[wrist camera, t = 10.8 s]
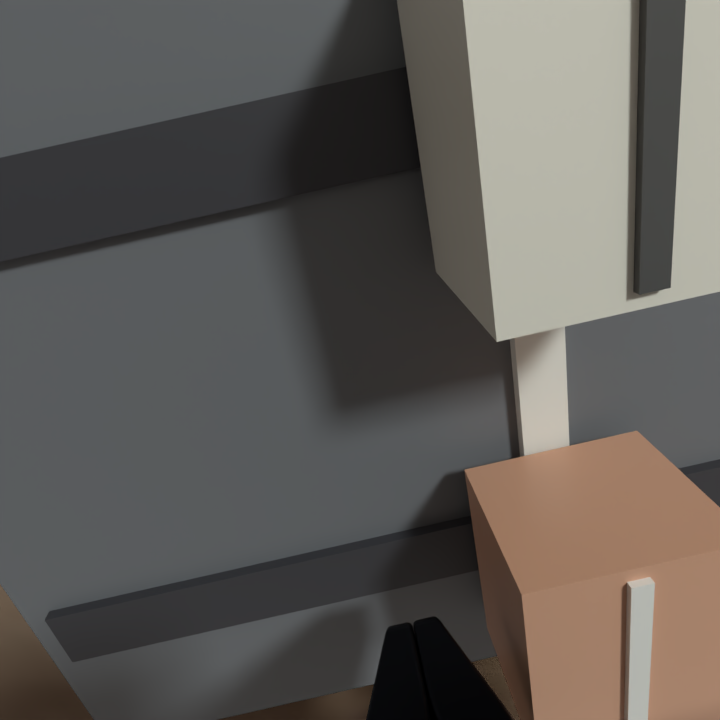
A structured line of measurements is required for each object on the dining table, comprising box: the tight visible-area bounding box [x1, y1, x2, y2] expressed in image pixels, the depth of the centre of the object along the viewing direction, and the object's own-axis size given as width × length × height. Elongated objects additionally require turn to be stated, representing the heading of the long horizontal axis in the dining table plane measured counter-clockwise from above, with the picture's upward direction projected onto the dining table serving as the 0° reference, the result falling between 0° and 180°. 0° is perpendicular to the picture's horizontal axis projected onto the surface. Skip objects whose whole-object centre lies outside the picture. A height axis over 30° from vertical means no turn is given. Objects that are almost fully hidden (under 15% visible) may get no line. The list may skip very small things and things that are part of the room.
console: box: [0, 0, 720, 720], centre depth 9 cm, size 15×14×2 cm
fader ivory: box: [397, 0, 720, 342], centre depth 5 cm, size 4×3×3 cm
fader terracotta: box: [464, 431, 720, 720], centre depth 9 cm, size 4×3×3 cm
